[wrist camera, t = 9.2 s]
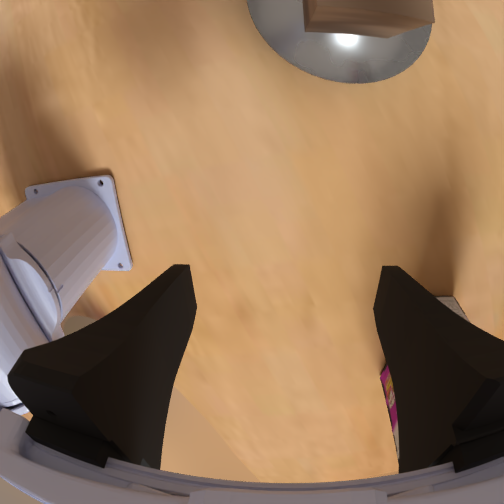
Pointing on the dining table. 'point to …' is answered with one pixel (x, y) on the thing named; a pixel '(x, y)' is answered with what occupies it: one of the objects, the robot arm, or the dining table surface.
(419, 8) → the walnut block
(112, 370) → the robot arm
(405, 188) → the dining table surface
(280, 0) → the biscuit tin
